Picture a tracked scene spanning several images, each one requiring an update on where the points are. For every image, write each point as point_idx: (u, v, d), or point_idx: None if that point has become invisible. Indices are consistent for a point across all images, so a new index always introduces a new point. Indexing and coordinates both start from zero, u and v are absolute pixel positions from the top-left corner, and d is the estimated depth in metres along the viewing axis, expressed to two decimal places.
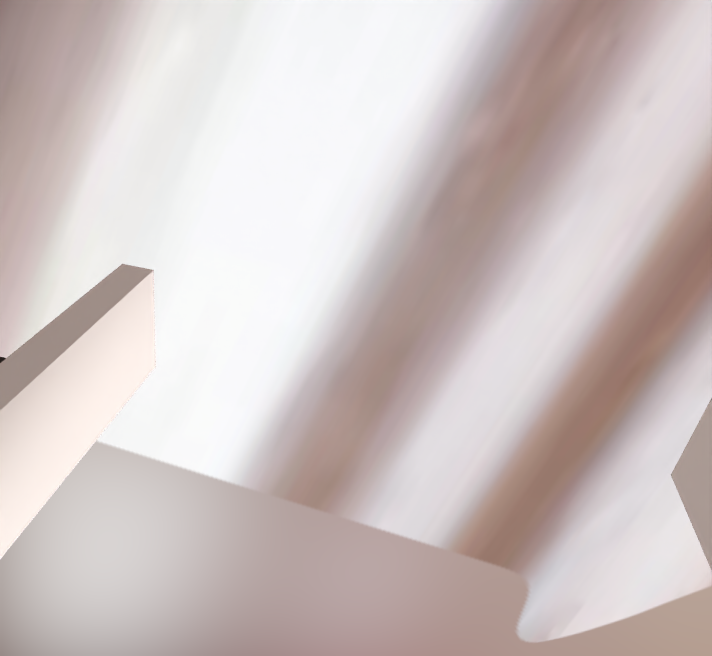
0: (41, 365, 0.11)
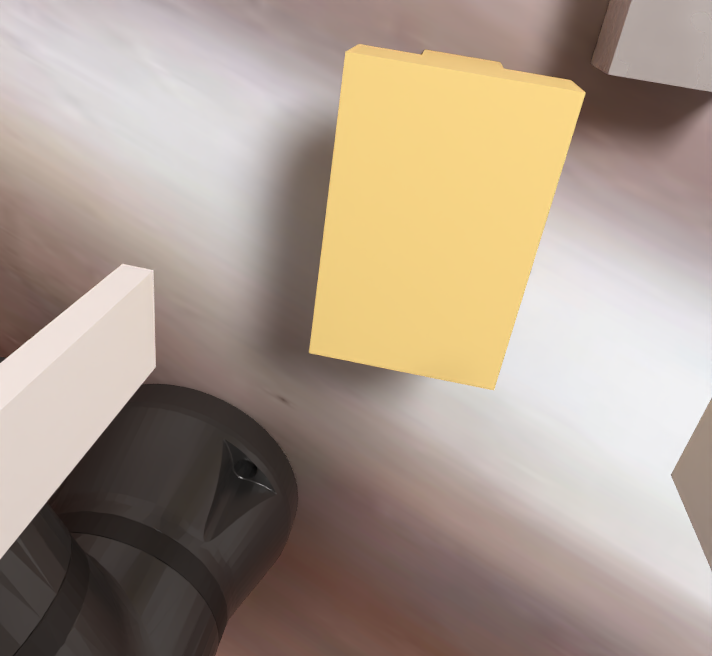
0: (41, 365, 0.11)
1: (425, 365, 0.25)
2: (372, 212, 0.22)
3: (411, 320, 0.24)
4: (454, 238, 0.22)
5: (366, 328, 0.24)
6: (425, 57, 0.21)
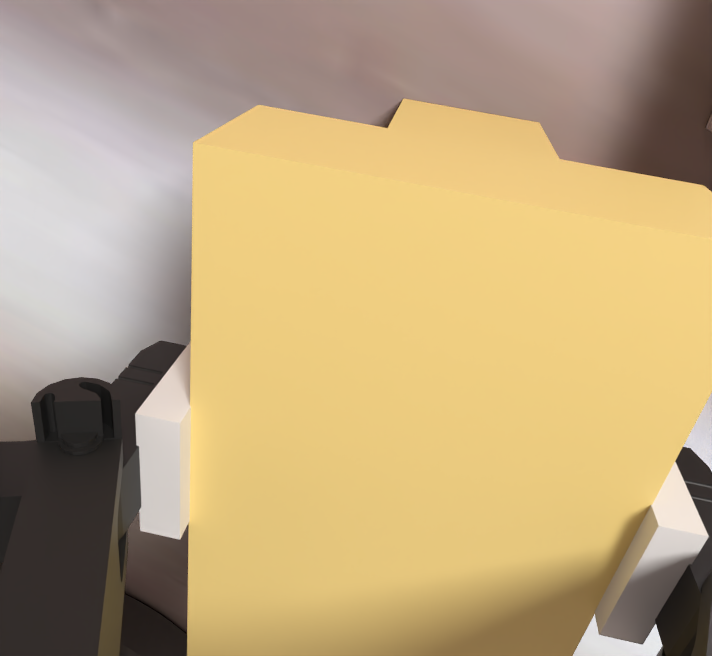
0: None
1: None
2: (282, 458, 0.11)
3: (371, 631, 0.12)
4: (454, 514, 0.11)
5: (288, 635, 0.13)
6: (393, 138, 0.10)
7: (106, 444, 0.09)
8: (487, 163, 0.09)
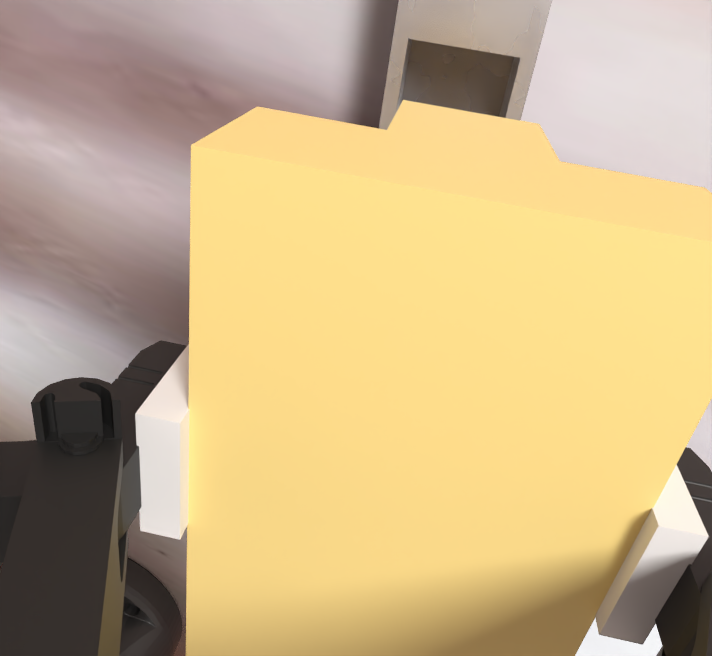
0: None
1: None
2: (281, 461, 0.10)
3: (371, 635, 0.12)
4: (454, 518, 0.10)
5: (287, 639, 0.13)
6: (393, 141, 0.10)
7: (106, 444, 0.09)
8: (487, 166, 0.09)
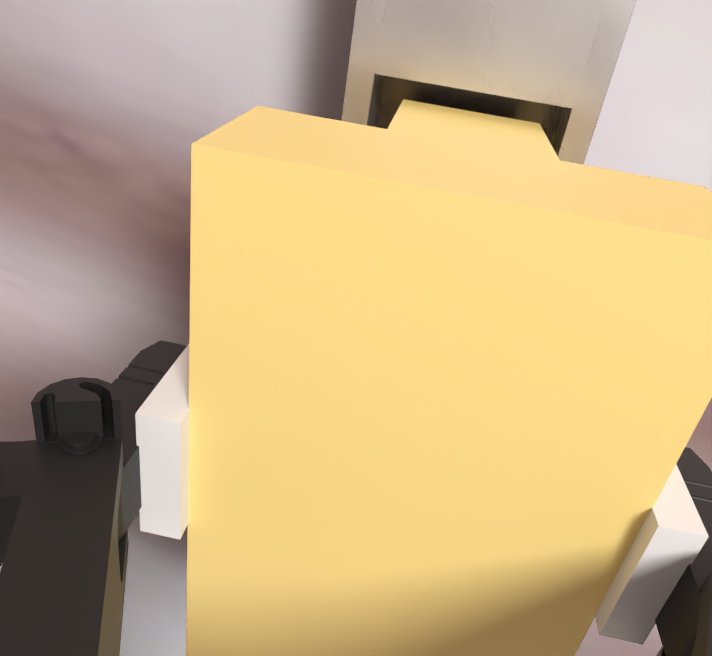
0: None
1: None
2: (281, 460, 0.10)
3: (371, 633, 0.12)
4: (454, 517, 0.10)
5: (287, 638, 0.13)
6: (393, 139, 0.10)
7: (106, 444, 0.09)
8: (487, 164, 0.09)
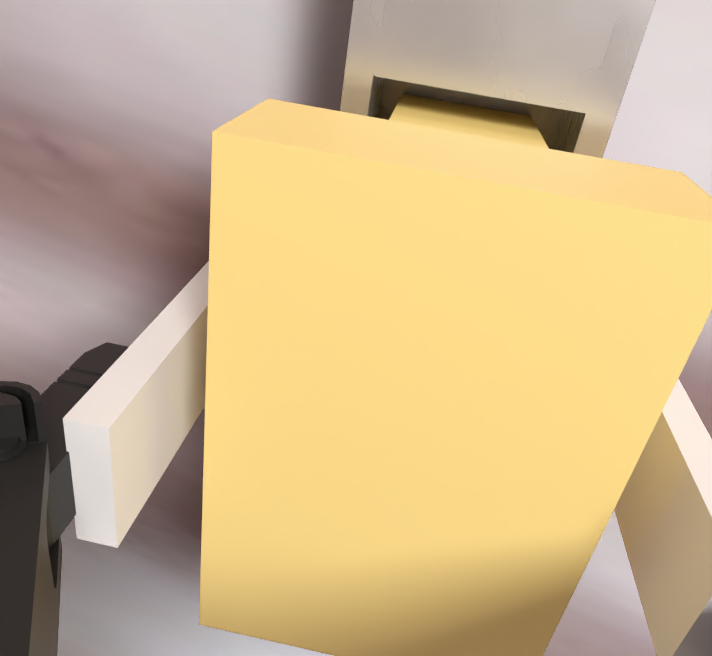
0: (163, 351, 0.12)
1: None
2: (291, 428, 0.11)
3: (374, 594, 0.13)
4: (452, 479, 0.11)
5: (295, 600, 0.14)
6: (394, 129, 0.11)
7: (30, 448, 0.09)
8: (481, 151, 0.10)
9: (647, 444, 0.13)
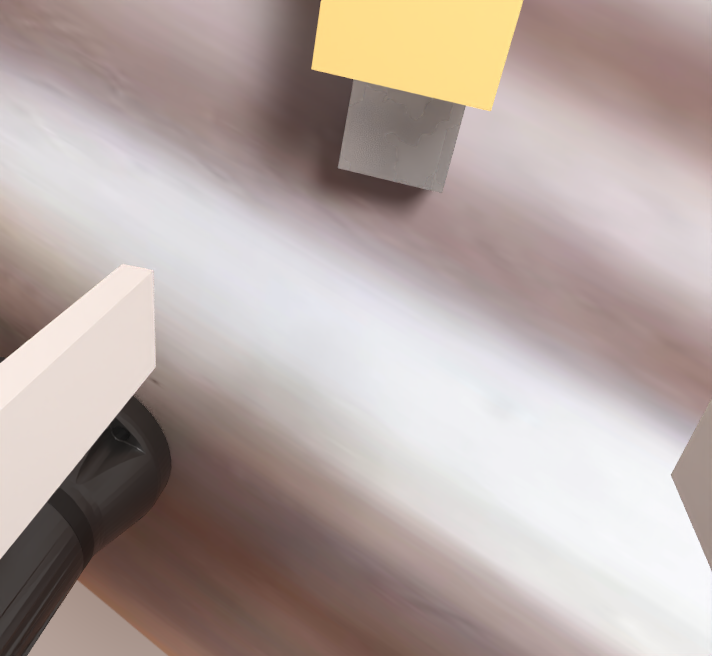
0: (41, 365, 0.11)
1: (425, 82, 0.25)
2: None
3: (413, 27, 0.24)
4: None
5: (369, 38, 0.25)
6: None
7: None
8: None
9: None
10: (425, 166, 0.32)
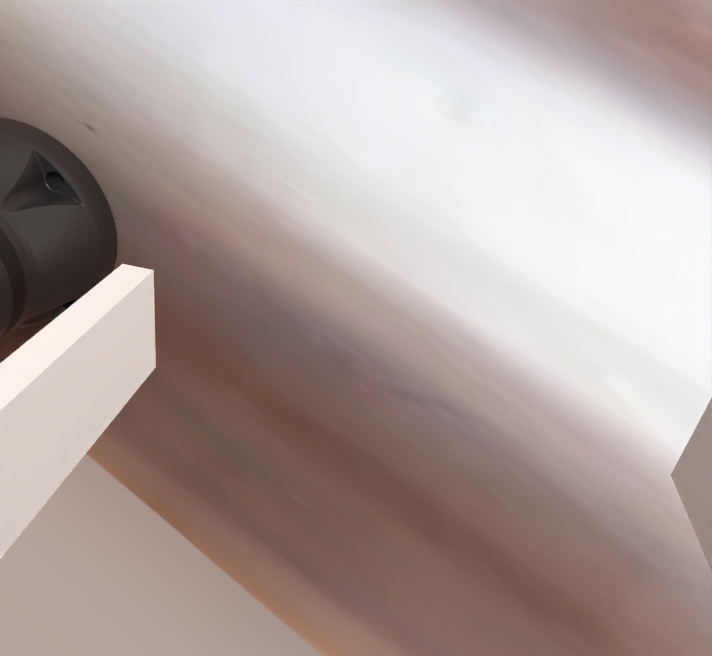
0: (41, 365, 0.11)
1: None
2: None
3: None
4: None
5: None
6: None
7: None
8: None
9: None
10: None
